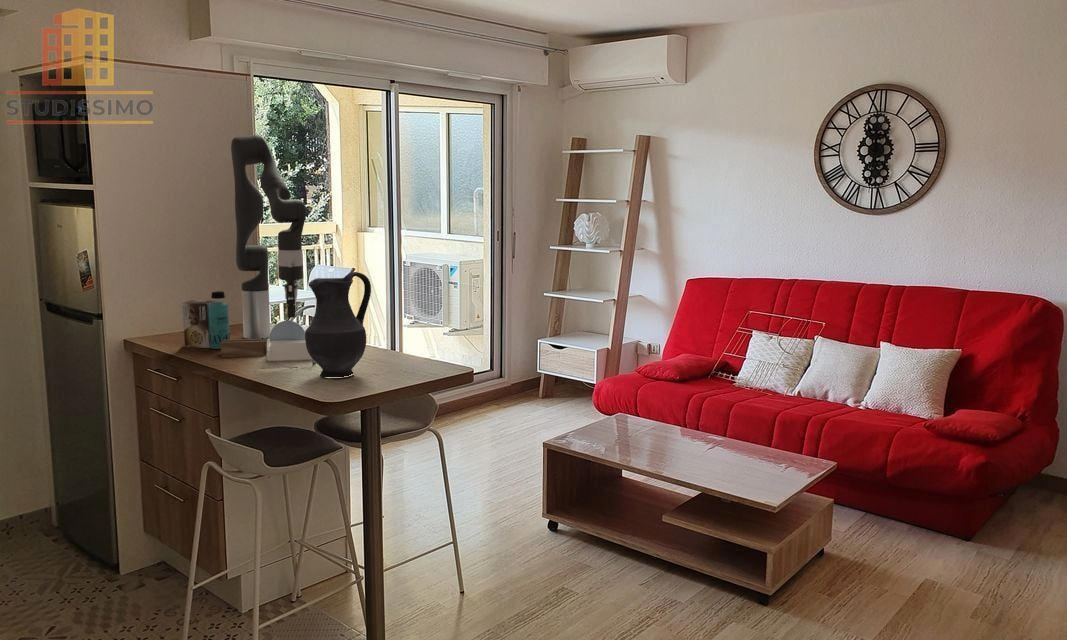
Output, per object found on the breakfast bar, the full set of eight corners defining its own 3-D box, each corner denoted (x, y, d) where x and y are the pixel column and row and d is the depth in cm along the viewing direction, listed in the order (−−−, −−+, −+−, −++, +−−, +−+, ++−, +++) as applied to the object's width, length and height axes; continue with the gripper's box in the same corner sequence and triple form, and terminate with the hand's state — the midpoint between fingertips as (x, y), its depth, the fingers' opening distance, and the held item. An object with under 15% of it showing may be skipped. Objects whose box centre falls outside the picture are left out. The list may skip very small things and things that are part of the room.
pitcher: (295, 375, 244) (292, 273, 240) (354, 364, 260) (352, 268, 255) (328, 385, 233) (326, 278, 228) (388, 373, 248) (387, 273, 243)
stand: (223, 356, 268) (222, 339, 267) (267, 355, 271) (267, 338, 271) (221, 360, 262) (220, 342, 262) (266, 358, 266) (265, 341, 265)
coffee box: (219, 347, 282) (217, 300, 280) (209, 351, 276) (207, 303, 273) (193, 346, 283) (191, 299, 281) (183, 350, 277) (181, 302, 274)
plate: (266, 350, 264) (273, 317, 263) (301, 357, 267) (309, 324, 266) (266, 351, 263) (273, 317, 262) (301, 358, 266) (309, 325, 264)
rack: (270, 356, 270) (269, 336, 269) (316, 354, 274) (316, 335, 273) (267, 364, 258) (266, 343, 257) (316, 362, 261) (315, 342, 260)
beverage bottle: (205, 351, 275) (202, 291, 272) (221, 348, 281) (218, 289, 277) (219, 354, 272) (216, 293, 269) (235, 350, 278) (232, 291, 274)
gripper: (279, 261, 267) (280, 311, 269) (276, 266, 253) (278, 319, 256) (303, 261, 268) (304, 311, 271) (302, 266, 255) (303, 318, 258)
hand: (292, 315), depth 264 cm, fingers open, 8 cm apart
